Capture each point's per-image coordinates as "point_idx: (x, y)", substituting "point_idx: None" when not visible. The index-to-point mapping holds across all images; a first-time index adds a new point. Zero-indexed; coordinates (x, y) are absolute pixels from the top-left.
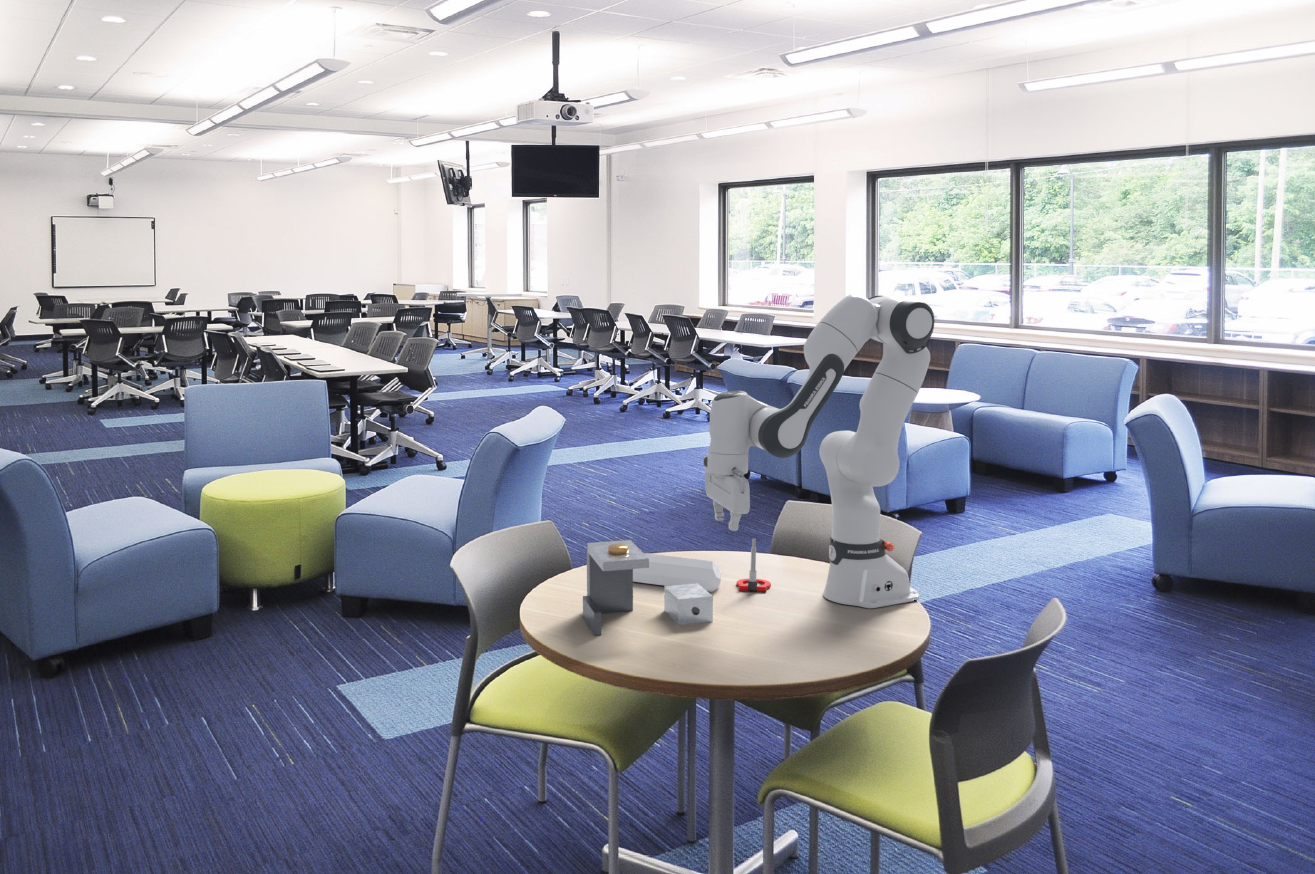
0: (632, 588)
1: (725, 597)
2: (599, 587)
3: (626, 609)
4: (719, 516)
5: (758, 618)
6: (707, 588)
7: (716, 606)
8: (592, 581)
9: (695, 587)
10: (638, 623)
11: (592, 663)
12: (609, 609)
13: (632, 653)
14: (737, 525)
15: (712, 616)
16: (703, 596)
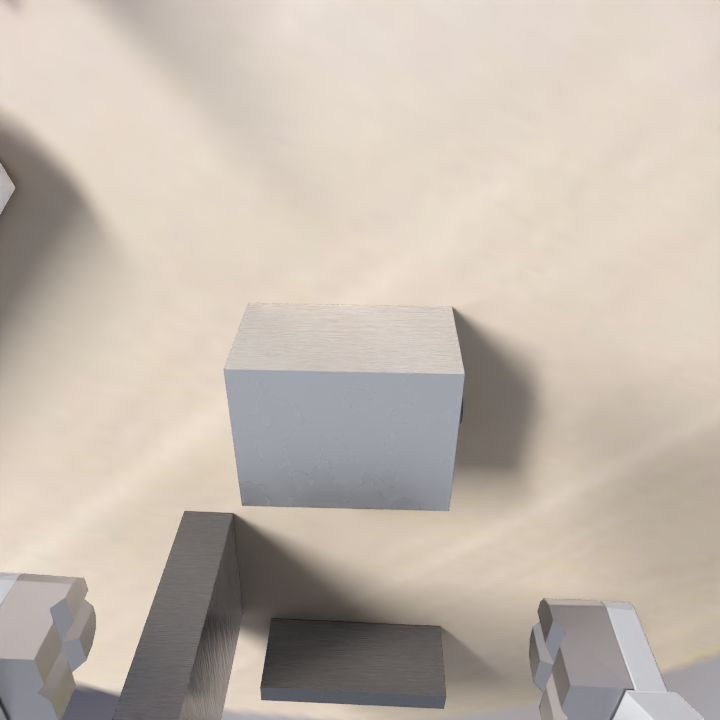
0: (215, 585)
1: (103, 111)
2: (222, 677)
3: (233, 535)
4: (64, 658)
5: (500, 74)
6: (7, 189)
7: (248, 215)
8: (219, 717)
9: (294, 400)
10: (372, 530)
11: None
12: (237, 580)
13: (623, 600)
14: (647, 661)
15: (453, 319)
16: (451, 413)
